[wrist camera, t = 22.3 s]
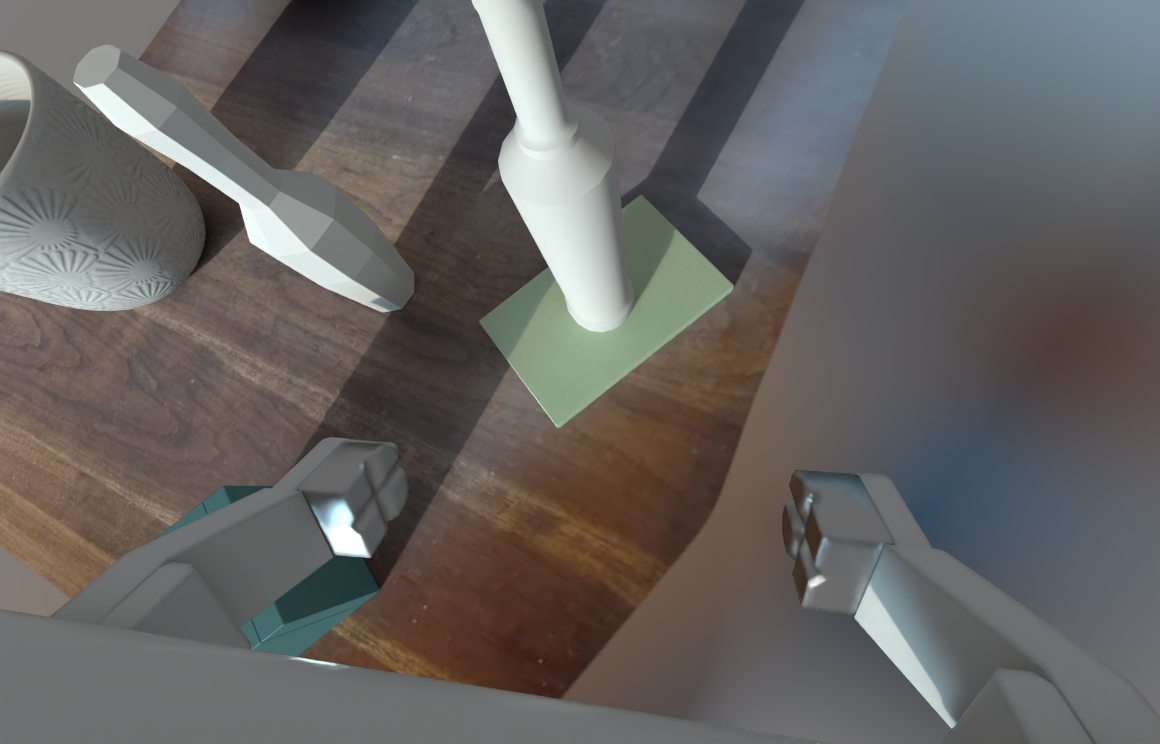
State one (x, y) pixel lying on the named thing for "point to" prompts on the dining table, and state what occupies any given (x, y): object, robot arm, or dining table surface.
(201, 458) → the dining table surface
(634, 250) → the mat
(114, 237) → the planter
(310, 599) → the holster
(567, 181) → the bottle
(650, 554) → the dining table surface
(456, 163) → the dining table surface
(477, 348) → the dining table surface
